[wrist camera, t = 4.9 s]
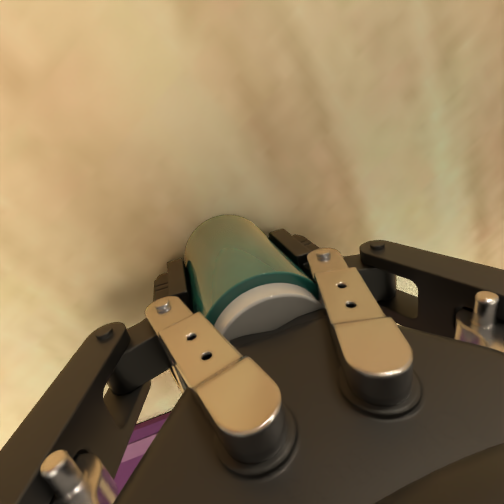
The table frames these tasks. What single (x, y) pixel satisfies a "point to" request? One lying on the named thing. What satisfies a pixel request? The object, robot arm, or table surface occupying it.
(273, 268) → the salt shaker
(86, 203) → the table surface
